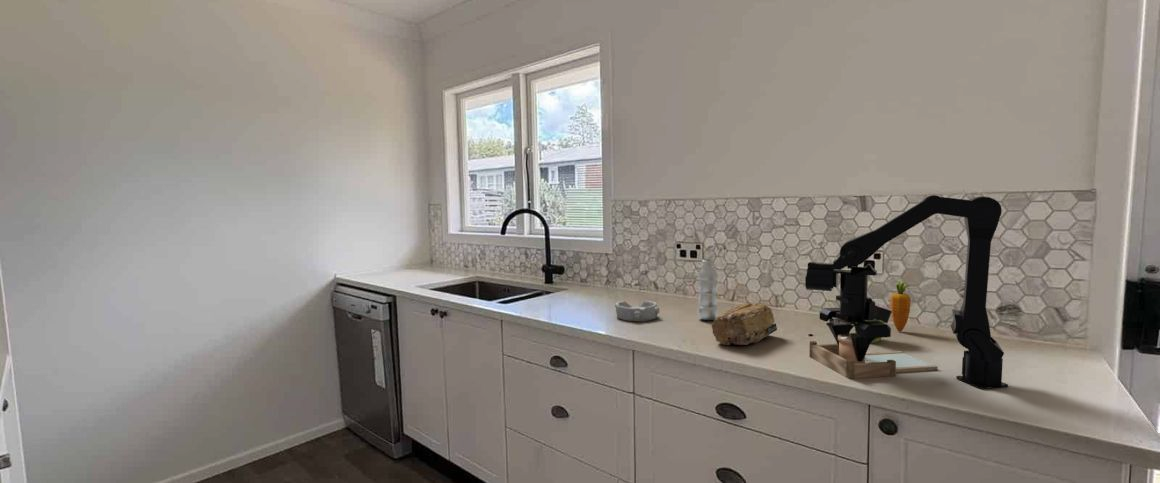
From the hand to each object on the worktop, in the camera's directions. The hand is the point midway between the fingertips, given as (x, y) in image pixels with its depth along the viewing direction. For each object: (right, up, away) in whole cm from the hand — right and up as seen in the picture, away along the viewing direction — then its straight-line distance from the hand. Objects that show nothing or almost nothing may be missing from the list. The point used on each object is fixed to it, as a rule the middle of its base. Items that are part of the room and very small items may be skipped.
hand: (852, 357), depth 123 cm
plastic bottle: (-23, +1, +48) cm, 53 cm away
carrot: (+29, +1, +28) cm, 40 cm away
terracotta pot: (0, -2, 0) cm, 2 cm away
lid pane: (+11, -2, +1) cm, 12 cm away
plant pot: (+15, 0, +21) cm, 26 cm away
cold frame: (0, -2, 0) cm, 2 cm away
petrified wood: (-19, -1, +24) cm, 31 cm away
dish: (-45, +1, +54) cm, 70 cm away
